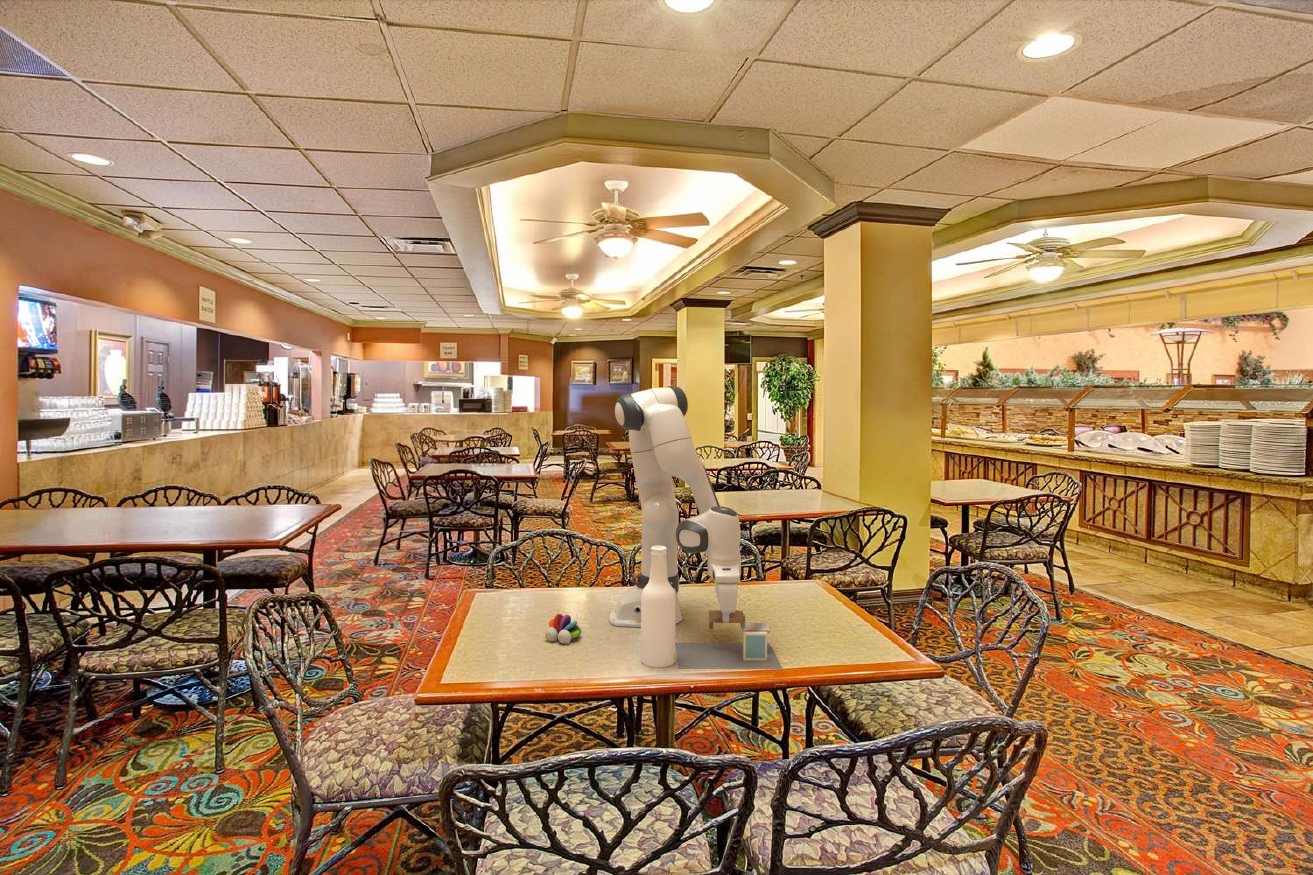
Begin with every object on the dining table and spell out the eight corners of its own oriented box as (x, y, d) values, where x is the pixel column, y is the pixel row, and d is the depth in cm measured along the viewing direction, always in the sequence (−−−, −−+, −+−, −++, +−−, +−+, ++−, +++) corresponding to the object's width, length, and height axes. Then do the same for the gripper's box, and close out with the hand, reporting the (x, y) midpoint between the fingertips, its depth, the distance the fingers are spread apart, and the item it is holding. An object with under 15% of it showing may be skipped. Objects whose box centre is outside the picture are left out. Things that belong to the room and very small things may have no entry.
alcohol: (668, 655, 173) (669, 542, 172) (680, 667, 165) (681, 549, 164) (636, 658, 171) (637, 544, 169) (646, 671, 162) (647, 551, 161)
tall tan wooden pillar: (710, 632, 173) (710, 615, 173) (708, 624, 179) (708, 608, 179) (770, 632, 173) (770, 615, 173) (766, 624, 179) (766, 608, 179)
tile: (743, 660, 168) (744, 633, 168) (742, 658, 170) (743, 631, 170) (766, 660, 169) (767, 633, 168) (765, 658, 170) (766, 631, 170)
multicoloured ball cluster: (558, 632, 191) (558, 607, 190) (586, 637, 186) (586, 612, 186) (540, 641, 183) (540, 615, 183) (569, 647, 179) (569, 621, 179)
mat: (678, 670, 163) (678, 668, 163) (675, 644, 181) (675, 642, 181) (782, 670, 163) (782, 668, 163) (769, 644, 181) (769, 642, 181)
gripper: (709, 559, 185) (710, 607, 186) (715, 578, 165) (716, 632, 166) (731, 558, 185) (732, 606, 186) (740, 577, 165) (741, 631, 166)
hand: (724, 619), depth 176 cm, fingers closed on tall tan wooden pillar, 2 cm apart
